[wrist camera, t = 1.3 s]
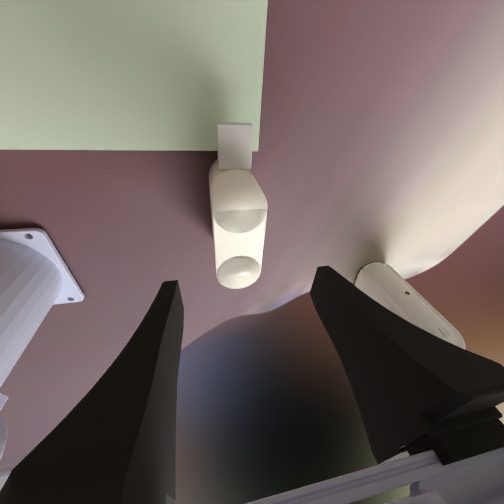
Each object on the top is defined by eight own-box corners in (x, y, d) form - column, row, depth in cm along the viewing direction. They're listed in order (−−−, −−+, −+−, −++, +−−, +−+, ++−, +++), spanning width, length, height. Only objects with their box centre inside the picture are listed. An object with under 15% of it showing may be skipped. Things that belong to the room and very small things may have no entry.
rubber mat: (-3, 147, 13) (-9, 149, 13) (-343, -422, 5) (-383, -458, 5) (256, 149, 16) (257, 151, 16) (278, -219, 8) (282, -233, 8)
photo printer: (357, 263, 27) (447, 368, 17) (390, 257, 27) (496, 356, 17) (341, 315, 33) (400, 412, 23) (368, 309, 33) (436, 402, 24)
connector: (213, 246, 21) (217, 290, 17) (204, 115, 14) (207, 132, 10) (246, 244, 22) (259, 286, 17) (252, 117, 15) (275, 133, 11)
